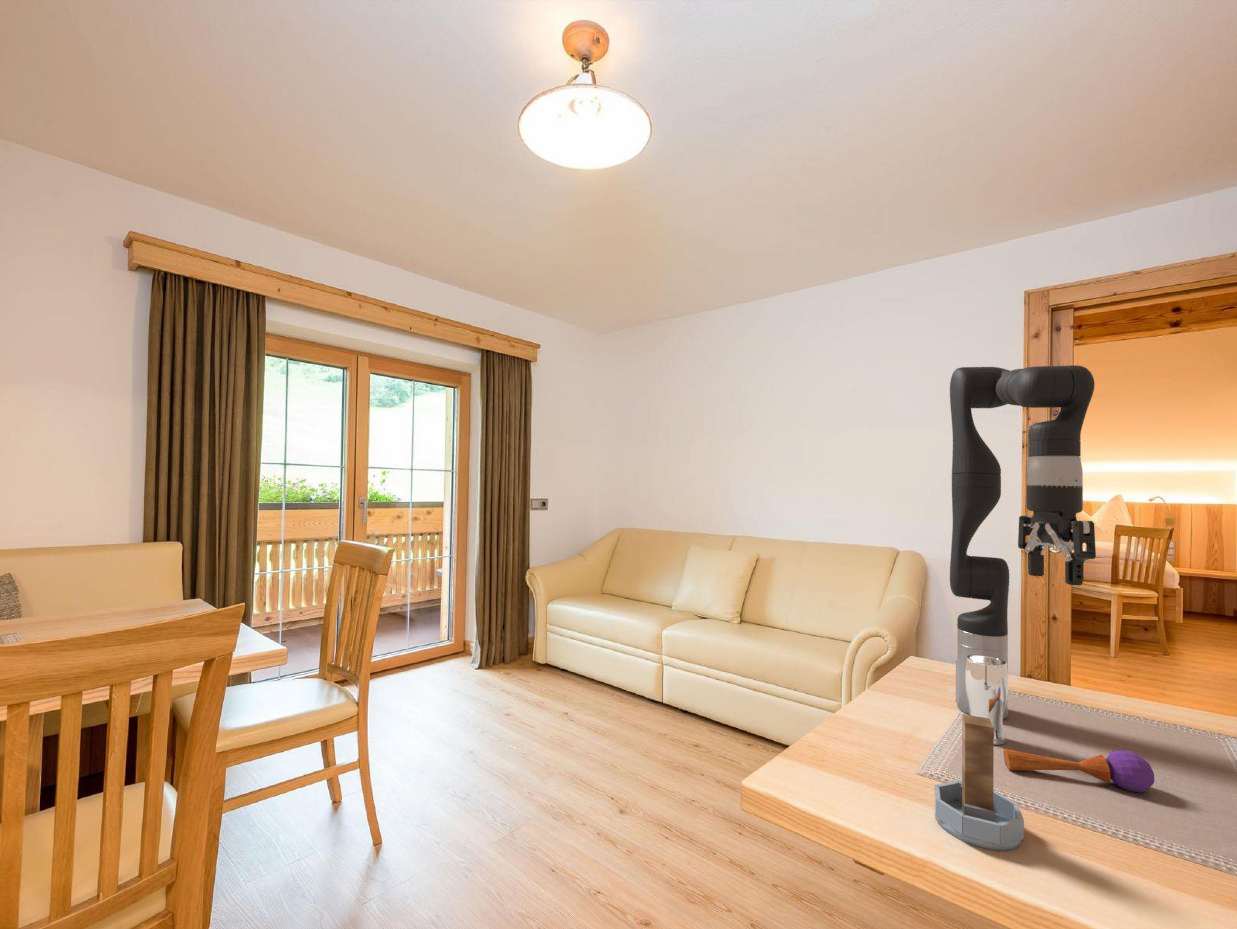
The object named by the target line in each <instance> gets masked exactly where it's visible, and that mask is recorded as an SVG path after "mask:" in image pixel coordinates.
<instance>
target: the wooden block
mask: <svg viewBox="0 0 1237 929" xmlns="http://www.w3.org/2000/svg"><path fill="white" fill-rule="evenodd" d="M961 716H962V718H961V720H962V721H961V722H962V723H961V724H962V725H961V726H962V727H961V729H962V730H961V731H962V734H961V736H962V737H961V753H962V754H961V782H962V812H963V814H964V804H968V805H972V806H976V807H980V808H985V809H989V810H993V790H994V763H995V762H994V758H995V757H994V754H995V752H994V748H995V747H994V746H995V745H994V728H993V725H992V723H991V721H990V719H989V718H983V717H977V716H971V715H970V714H966V713H962V714H961Z"/></svg>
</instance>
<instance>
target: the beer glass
mask: <svg viewBox="0 0 1237 929" xmlns="http://www.w3.org/2000/svg"><path fill="white" fill-rule="evenodd" d="M965 685H966V692H967V698H968V703H969V708H970V714H969V715H971V716H977V717H983V718H989V719H990V721H991V723H992V725H993V728H994V746H1000V745H1001V746H1002V745H1004V744H1005V743H1006V737H1005V732H1004V726H1003V724H1004V719H1003V715H1004V710H1005V706H1006V701H1007V695H1008V696H1009V673H1008V674H1007V663H1006V662H1005V661H1004V660H1002V659H999V658H996V657H991V656H986V655H968V656H967V660H966V671H965Z"/></svg>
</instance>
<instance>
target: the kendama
mask: <svg viewBox="0 0 1237 929" xmlns="http://www.w3.org/2000/svg"><path fill="white" fill-rule="evenodd" d="M1003 760H1004V765H1005V766H1006V768H1007V770H1008V771H1081V772H1083V773H1085V774H1087V775H1089V776H1091V777H1094V778H1096V779H1098V780H1100V781H1102V782H1104V783H1106V784H1110V783H1111V782H1112V783H1114V784H1115V785H1117V786H1118V787H1119V788H1122V789H1123V790H1126V791H1129V792H1134V793H1135V792H1136V793H1142V792H1147V791H1149V790H1150V788H1151V787H1152V786H1153V785H1154V783H1155V773H1154V770H1153V768H1152V765H1151V764H1150V763H1149V762H1148V761H1146V760H1145V759H1144V758H1143V757H1142V756H1141V755H1140V754H1137V753H1135V752H1133V751H1129V750H1120V749H1119V750H1118V749H1117V750H1114V751H1112V752H1110V753H1109V754H1108V755H1107V756H1106V757H1105V756H1104V755H1103V754H1098V755H1095V756H1091V757H1090V758H1087V759H1086V758H1085V759H1083V760H1081V761H1078V762H1077V761H1071V760H1067V759H1065V760H1064V759H1060V758H1055V757H1049V756H1044V755H1038V754H1034V753H1033V754H1032V753H1027V752H1023V751H1017V750H1012V749H1006V748H1004V749H1003Z"/></svg>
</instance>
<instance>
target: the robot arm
mask: <svg viewBox="0 0 1237 929" xmlns="http://www.w3.org/2000/svg"><path fill="white" fill-rule="evenodd" d="M1094 391H1095V378H1094V375H1093V374H1092V372H1091V371H1090V370H1089V369H1088V368H1087V367H1085V366H1083V365H1073V364H1072V365H1045V366H1044V365H1043V366H1040V365H1039V366H1028V367H1025V368H1016V369H1013V370H1012V369H1011V370H1010V369H1005V368H1002V367H999V366H997V367H996V366H962V367H958V368H956V369H954V371H953V373H952V375H951V377H950V381H949V403H950V406H949V407H950V415H951V427H952V430H951V431H952V458H951V460H952V461H951V462H952V464H951V508H952V509H951V510H952V531H951V534H952V535H951V550H950V562H949V585H950V586H949V588H950V590H951V592H952V594H953V596H955V597H958V598H966V599H973V600H983V601H989V602H990V603H989V604H988V605H987V606H985V607H982V608H980V609H977V610H973V611H968V612H963V613H959V615H957V620H956V622H957V624H956V626H957V627H956V628H957V632H956V634H957V636H956V637H957V640H956V641H957V642H956V643H957V644H956V645H957V649H956V650H957V652H956V653H957V654H956V655H957V656H956V660H955V702H956V703H957V704H956V706H957V708H958V709H959V710H960V711H962V712H964V713H965V714H967V715H970V708H969V703H968V698H967V692H966V685H965V671H966V660H967V656H968V655H986V656H991V657H996V658H999V659H1002V660H1004V661H1005V662H1006V663H1007V674H1008V675H1009V649H1008V648H1009V636H1008V634H1009V630H1008V629H1009V626H1008V625H1009V624H1008V621H1009V620H1008V604H1009V592H1010V589H1009V588H1010V568H1009V566H1008V565H1009V564H1008V563H1007V561H1006V560H1005V559H1003V558H1000V557H990V556H988V557H987V556H980V555H979V556H976V555H968V554H967V553H968V549H969V546H970V543H971V541H972V539H973V537H974V535H975V534H976V532H977V531H978V529H979V528H980V527H981V525H982V524H983V522H985V520H986V519H987V517H988V516H989V515H990V514H991V513H992V512H993V510H994V508H995V507H996V506H997V505H998V503H999V501H1000V499H1001V495H1002V494H1001V493H1002V469H1001V465H1000V462H999V460H998V458H997V457H996V455H994V453H993V452H992V449H991V448H990V447H989V446H988V445H987V443H986V442H985V441H984V440H983V438H982V436H981V435H980V433H979V431H978V430H977V428H976V426H975V423H974V417H973V413H972V409H996V408H1000V407H1004V406H1006V405H1010V406H1011V405H1012V406H1017V407H1023V408H1030V409H1031V408H1032V409H1033V408H1034V409H1035V408H1036V409H1040V408H1041V409H1042V408H1043V409H1045V408H1047V409H1048V408H1051V409H1052V408H1054V409H1055V408H1060V411H1059V413H1058V415H1057V416H1056V417H1055V419H1052V420H1046V421H1040V422H1036V423H1033V424H1032V425H1030V426H1029V429H1028V435H1027V436H1028V437H1027V440H1028V441H1027V444H1028V445H1027V446H1028V447H1027V451H1028V452H1027V456H1028V457H1027V459H1028V460H1027V463H1026V464H1027V465H1026V474H1025V475H1026V476H1025V477H1026V482H1025V483H1026V494H1025V495H1026V498H1025V499H1026V504H1025V506H1026V510H1027V511H1029V512H1033V514H1032V515H1020V516H1019V518H1018V537H1017V538H1018V539H1017V547H1018V549H1021V550H1022V549H1023V550H1024V552H1025V553H1026V554H1027V570H1028V572H1027V573H1028V575H1029V576H1033V577H1043V576H1044V575H1045V555H1044V554H1043V553H1044V552H1045V550H1046V549H1047V547H1048V546H1051V545H1055V547H1056V549H1058V550H1060V551H1061V553H1062V554H1063V557H1064V558H1065V561H1064V566H1065V568H1064V575H1065V576H1064V577H1065V579H1064V581H1065V584H1066V585H1070V586H1081V585H1082V584H1083V582H1084V578H1085V576H1084V564H1085V562H1087V561H1089V560H1095V559H1096V557H1097V552H1096V551H1097V550H1096V548H1097V547H1096V533H1095V523H1094V521H1092V520H1078V519H1077V514H1079V513H1082V512H1083V509H1084V504H1083V502H1084V500H1083V497H1084V496H1083V494H1084V493H1083V492H1084V487H1083V486H1084V481H1083V476H1084V475H1083V472H1084V471H1083V466H1082V459H1081V456H1082V455H1081V452H1082V451H1081V450H1082V449H1081V448H1082V447H1081V440H1082V439H1081V435H1082V428H1083V424H1084V421H1085V418H1086V414H1087V412H1088V408H1089V405H1090V403H1091V400H1092V397H1093V396H1094ZM1027 536H1028V537H1027ZM1026 537H1027V541H1028V542H1027V541H1026ZM1084 544H1085V547H1086V550H1083V547H1084ZM1071 550H1072V551H1073V552H1072V551H1071ZM1008 700H1009V694H1008V695H1007V701H1006V706H1005V710H1004V715H1003V720H1004V719H1006V718H1008V717H1009V716H1008V715H1009V713H1008V712H1009V706H1008V705H1009V704H1008V702H1009V701H1008Z"/></svg>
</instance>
